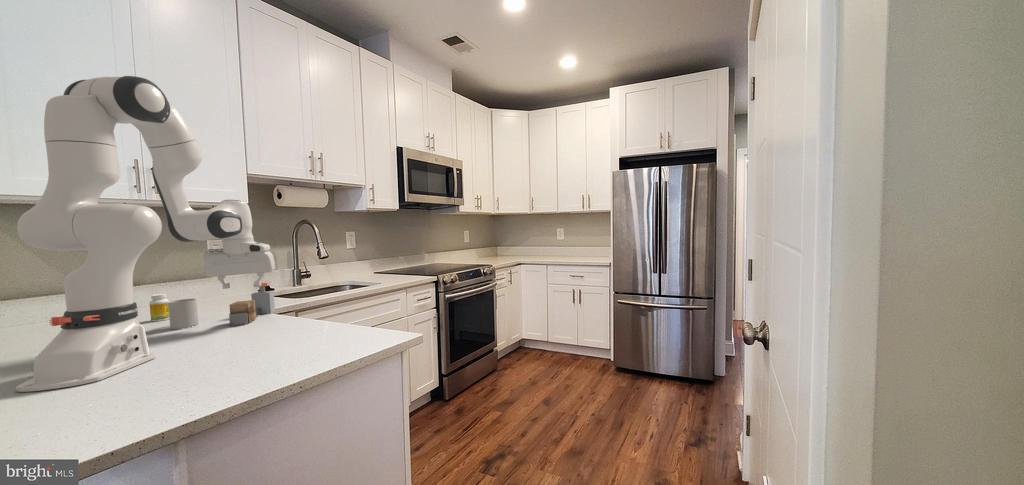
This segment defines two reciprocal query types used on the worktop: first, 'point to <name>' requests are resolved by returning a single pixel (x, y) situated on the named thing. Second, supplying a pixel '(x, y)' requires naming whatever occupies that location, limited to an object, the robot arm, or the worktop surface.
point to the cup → (183, 313)
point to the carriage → (244, 308)
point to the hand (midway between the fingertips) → (242, 287)
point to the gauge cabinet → (264, 301)
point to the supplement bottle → (159, 308)
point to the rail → (241, 317)
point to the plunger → (263, 286)
